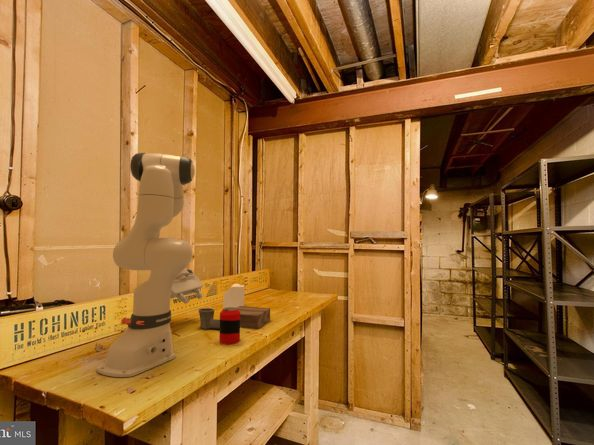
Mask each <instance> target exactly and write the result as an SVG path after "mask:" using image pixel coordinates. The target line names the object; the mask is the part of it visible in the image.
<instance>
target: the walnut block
mask: <svg viewBox="0 0 594 445" xmlns="http://www.w3.org/2000/svg"><path fill="white" fill-rule="evenodd" d="M236 308H238V310H239V311H240V329H241V328H242V329H249V330H259V329H260V328H262V327H264V326H265V325H266V324H267V323H269V322H270V321H271V308H269V307H259V306H247V305H246V306H245V305H244V306H239V307H236Z"/></svg>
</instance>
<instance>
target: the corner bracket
mask: <svg viewBox="0 0 594 445" xmlns="http://www.w3.org/2000/svg"><path fill="white" fill-rule="evenodd" d="M222 299H223V300H222V301H223V307H222V308H228V307H235V308H236V307H239V306H245V285H244V284H240V283H233V284H232V285H231V286H230V287H229V288H228V289H227V290H226V291H225V292H224V293H223V298H222Z"/></svg>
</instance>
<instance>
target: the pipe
mask: <svg viewBox="0 0 594 445" xmlns="http://www.w3.org/2000/svg"><path fill="white" fill-rule="evenodd" d="M197 311H198V314H199V319H200V321H199V326H200V328H201V329H203V330H207V329H213V330H215V329H216V330H220V318H219V319H218V318H217V319H214V317H215V316H214V314H215V309H214V308H211V307H210V308H209V307H205V308H204V307H203V308H198V310H197Z"/></svg>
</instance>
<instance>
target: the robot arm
mask: <svg viewBox="0 0 594 445" xmlns="http://www.w3.org/2000/svg"><path fill="white" fill-rule="evenodd" d="M129 168H130V172H131V175H132V177H133V178H134V179H135V180H136V181H137V182H138V181H139V186H138V196H137V198H138V199H137V208H136V216H135V220H134V223H133V225H132V228H130V231H129V232H128V233H127V235H126V236H124V237H123V238H122V239H121V240H118V242H117V243H116V244H115V246H114V247H113V249H112V250H113V251H112V259H113V262H114V263H115V265H116V266H117V267H118V268H121V269H126V270H131V271H150V274H149V278H148V280H146V281H144V282H141V283H140V284H139V285H138V286H137V287H136V288H135V289H134V291H133V302H132V303H133V304H132V305H133V306H132V313H131V315H130V318H129V317H122V319H121V320H120V323H121V324H122V325H126V326H127V328H125V330H124V331H122V334H120V335H119V336H118V338H117V339H116V340H115V341H114V342H113V343H111V345H110V346H109V347H108V350H107V353H106V360H105V361H104V362H102V363H100V364H99V365H97V366H96V372H97V373H98V374H100V375H103V376H108V377H115V378H129V377H134V376H137V375H139V374H140V373H143V372H146V371H148V370H151V369H152V368H155V367H158V366H160V365H162V364H165V363H167V362H169V361H172V360H174V359H175V358H176V354H175V350H174V347H173V346H174V345H173V334H172V328H171V324H170V323H171V321H172V311H171V299H175V298H177V299H178V300H180V301H182V302H183V304H185V305H186V304H188V303H190V299H189V298H188V297H186V295H189V294H192V293H194V294H196V298H197V299H198V300H201V299H202V298H203V296H204V295H202V292H201V289H203V282H202V281H201V279H199V277H198V276H197V275H196V274H195V272H194V270H192V269H189V268H187V267H188V266H189V265H190V263H191V262H192V259H193V249H192V246H191V244H190V243H189V242H188V241H187V240H184V239H180V238H175V237H160V233H161V229H162V228H165V227H166V226H169V224H170V223H171V222H172V221H173V219H174V218H175V217H176V216H177V215H179V214H180V213H181V212H182V210H183V208H184V204H185V200H184V199H185V197H184V194H185V193H184V192H185V191H184V186H185V185H188V184H190V183H191V182H192V181H193V179H194V177H195V172H196V169H195V165H194V163H193V160H192V159H191V157H188V156H185V155H184V156H183V155H181V156H178V155H174V154H166V153H161V152H160V153H159V152H157V153H155V152H150V153H146V152H138V153H135V154H133V156H132V157H131V159H130V164H129Z"/></svg>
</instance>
